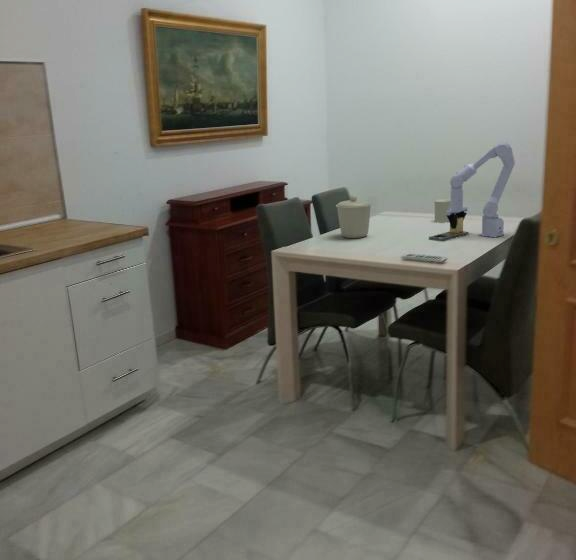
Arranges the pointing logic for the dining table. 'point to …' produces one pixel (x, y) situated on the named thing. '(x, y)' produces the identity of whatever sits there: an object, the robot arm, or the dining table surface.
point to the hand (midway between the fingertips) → (456, 227)
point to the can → (442, 210)
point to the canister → (354, 217)
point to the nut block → (458, 226)
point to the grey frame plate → (447, 236)
